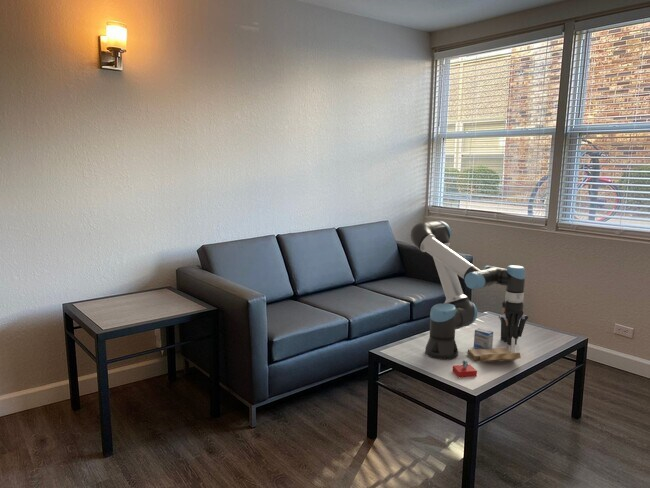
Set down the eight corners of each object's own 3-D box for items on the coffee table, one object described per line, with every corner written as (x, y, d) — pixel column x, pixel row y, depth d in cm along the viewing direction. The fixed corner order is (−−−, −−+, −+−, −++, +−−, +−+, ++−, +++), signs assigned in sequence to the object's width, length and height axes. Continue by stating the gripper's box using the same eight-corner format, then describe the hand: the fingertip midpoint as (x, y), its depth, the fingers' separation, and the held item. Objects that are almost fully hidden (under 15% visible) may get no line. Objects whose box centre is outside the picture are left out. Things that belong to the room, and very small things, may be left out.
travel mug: (518, 342, 257) (520, 304, 253) (502, 342, 257) (505, 304, 253) (512, 337, 264) (515, 300, 261) (498, 337, 264) (500, 300, 261)
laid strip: (474, 361, 234) (474, 356, 234) (467, 354, 242) (467, 349, 241) (515, 358, 236) (516, 353, 236) (507, 352, 244) (507, 347, 244)
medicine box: (473, 346, 252) (474, 330, 250) (477, 344, 255) (478, 327, 253) (488, 350, 246) (489, 333, 245) (492, 348, 249) (493, 331, 248)
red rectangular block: (469, 370, 225) (470, 356, 224) (476, 376, 218) (477, 362, 217) (452, 371, 223) (453, 357, 222) (458, 378, 217) (459, 364, 216)
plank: (486, 360, 226) (485, 354, 227) (480, 361, 233) (479, 356, 233) (520, 358, 228) (519, 352, 229) (513, 359, 235) (512, 354, 235)
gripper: (504, 303, 220) (501, 355, 224) (532, 302, 221) (529, 354, 225) (496, 299, 227) (493, 349, 231) (524, 297, 229) (520, 347, 233)
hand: (511, 351), depth 228 cm, fingers closed
